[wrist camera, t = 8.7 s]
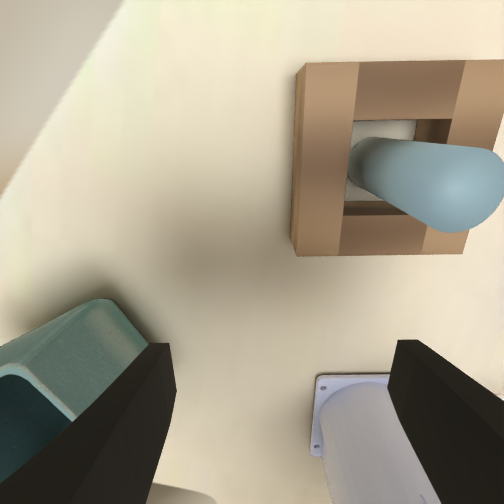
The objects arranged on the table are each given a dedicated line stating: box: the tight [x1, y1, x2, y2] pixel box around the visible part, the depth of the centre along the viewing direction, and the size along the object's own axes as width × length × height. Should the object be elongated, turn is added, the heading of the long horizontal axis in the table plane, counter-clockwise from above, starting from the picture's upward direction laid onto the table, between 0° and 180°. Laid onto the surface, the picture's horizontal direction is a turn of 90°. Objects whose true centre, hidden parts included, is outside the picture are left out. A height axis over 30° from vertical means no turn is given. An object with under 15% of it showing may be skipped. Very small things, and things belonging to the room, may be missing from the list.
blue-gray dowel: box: [347, 137, 504, 233], centre depth 13 cm, size 3×3×8 cm
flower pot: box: [0, 299, 149, 483], centre depth 18 cm, size 9×9×9 cm
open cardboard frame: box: [290, 60, 504, 256], centre depth 16 cm, size 9×9×3 cm
